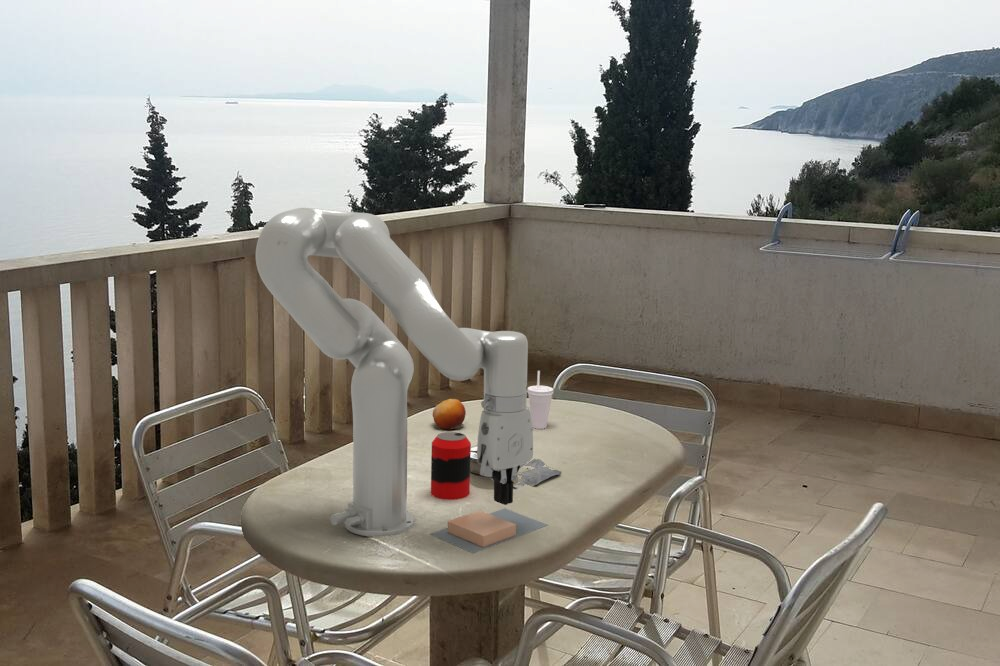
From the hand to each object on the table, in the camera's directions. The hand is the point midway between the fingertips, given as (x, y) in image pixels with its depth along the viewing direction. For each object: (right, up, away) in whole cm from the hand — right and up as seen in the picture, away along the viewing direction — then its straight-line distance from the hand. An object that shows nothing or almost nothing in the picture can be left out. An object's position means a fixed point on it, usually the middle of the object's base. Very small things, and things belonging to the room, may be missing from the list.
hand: (503, 501), depth 180 cm
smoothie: (+9, +7, +67) cm, 68 cm away
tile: (-1, -4, 0) cm, 4 cm away
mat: (-2, -5, 0) cm, 6 cm away
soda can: (-10, -2, +18) cm, 21 cm away
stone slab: (+5, -1, +30) cm, 31 cm away
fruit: (-13, +7, +64) cm, 66 cm away
